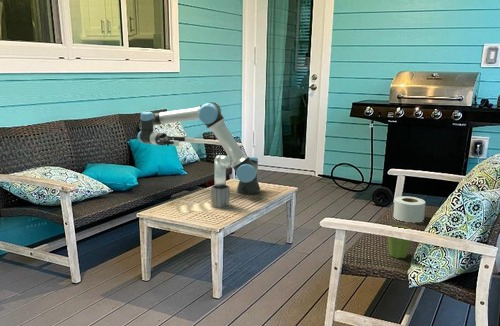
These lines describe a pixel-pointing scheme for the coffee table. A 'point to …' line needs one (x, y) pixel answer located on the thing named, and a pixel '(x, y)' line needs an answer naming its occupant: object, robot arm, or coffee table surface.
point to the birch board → (195, 207)
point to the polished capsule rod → (221, 170)
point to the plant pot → (398, 246)
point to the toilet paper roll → (409, 209)
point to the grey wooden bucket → (220, 197)
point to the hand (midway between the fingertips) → (186, 141)
